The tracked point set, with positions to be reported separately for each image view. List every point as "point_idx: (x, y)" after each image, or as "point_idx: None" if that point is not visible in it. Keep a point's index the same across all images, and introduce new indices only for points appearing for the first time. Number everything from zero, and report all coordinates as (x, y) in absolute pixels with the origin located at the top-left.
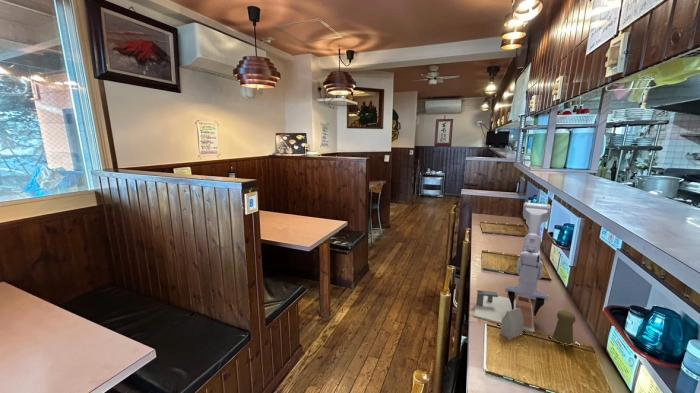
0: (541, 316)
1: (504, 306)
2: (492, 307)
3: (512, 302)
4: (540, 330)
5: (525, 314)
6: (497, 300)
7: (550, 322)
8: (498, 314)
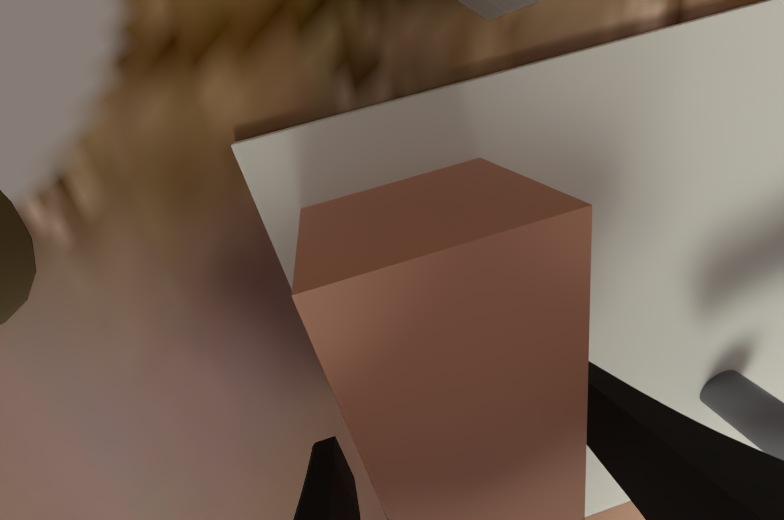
0: (299, 495)
1: None
2: (713, 304)
3: (705, 448)
4: (207, 265)
5: (437, 288)
6: None
7: (200, 473)
8: (669, 216)
